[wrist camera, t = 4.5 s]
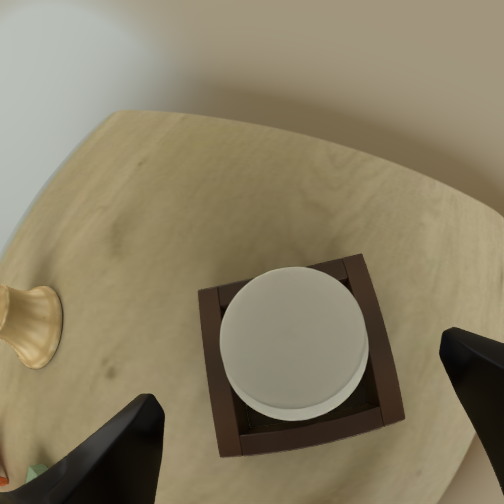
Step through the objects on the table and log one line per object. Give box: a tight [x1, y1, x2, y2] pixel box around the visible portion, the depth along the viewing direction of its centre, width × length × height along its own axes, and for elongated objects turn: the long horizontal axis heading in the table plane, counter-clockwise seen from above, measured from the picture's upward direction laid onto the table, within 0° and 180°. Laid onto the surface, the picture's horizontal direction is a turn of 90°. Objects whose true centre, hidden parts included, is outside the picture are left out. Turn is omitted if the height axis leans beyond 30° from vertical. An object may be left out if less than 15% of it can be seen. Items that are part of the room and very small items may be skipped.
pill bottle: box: [220, 267, 369, 421], centre depth 11 cm, size 5×5×10 cm
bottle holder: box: [198, 254, 405, 458], centre depth 14 cm, size 9×9×3 cm
